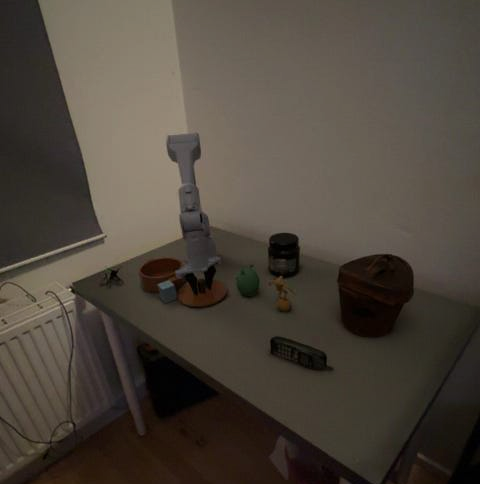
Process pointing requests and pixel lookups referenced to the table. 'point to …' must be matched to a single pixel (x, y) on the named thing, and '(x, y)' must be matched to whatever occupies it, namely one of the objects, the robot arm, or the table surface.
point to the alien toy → (247, 281)
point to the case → (374, 293)
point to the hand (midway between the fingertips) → (202, 290)
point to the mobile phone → (299, 353)
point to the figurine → (283, 302)
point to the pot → (160, 273)
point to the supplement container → (283, 254)
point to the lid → (202, 294)
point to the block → (167, 291)
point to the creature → (112, 276)
